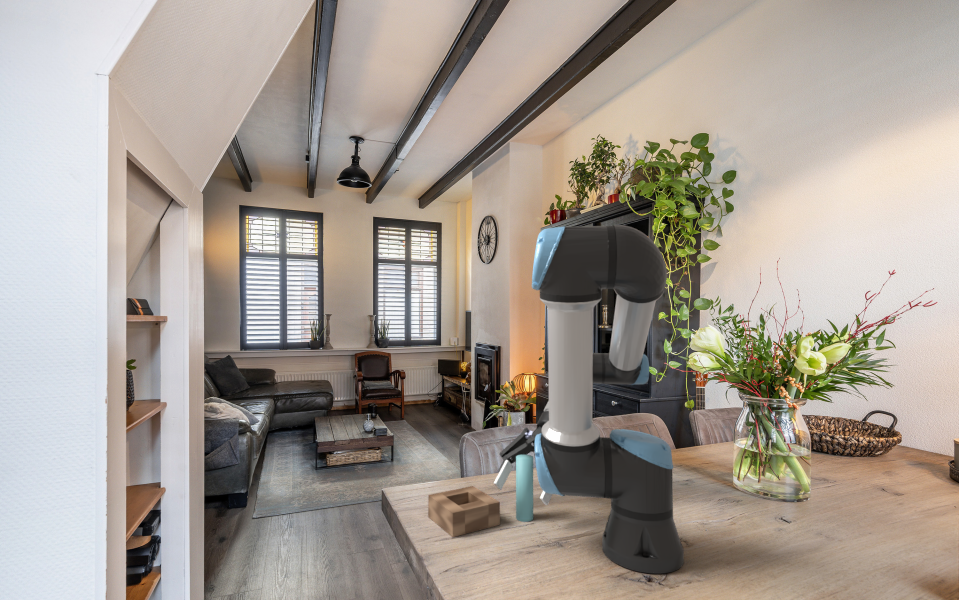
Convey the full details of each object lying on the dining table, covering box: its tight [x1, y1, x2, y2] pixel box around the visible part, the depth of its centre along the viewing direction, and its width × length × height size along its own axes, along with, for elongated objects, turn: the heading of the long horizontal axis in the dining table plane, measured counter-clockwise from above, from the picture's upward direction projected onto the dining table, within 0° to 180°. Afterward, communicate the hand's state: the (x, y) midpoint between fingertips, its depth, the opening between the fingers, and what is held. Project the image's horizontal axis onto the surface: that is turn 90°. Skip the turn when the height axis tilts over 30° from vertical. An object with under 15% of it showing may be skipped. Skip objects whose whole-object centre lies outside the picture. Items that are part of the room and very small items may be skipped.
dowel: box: [515, 454, 534, 523], centre depth 107 cm, size 4×4×14 cm
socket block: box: [427, 485, 501, 538], centre depth 105 cm, size 12×12×5 cm
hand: (519, 494), depth 106 cm, fingers open, 13 cm apart
